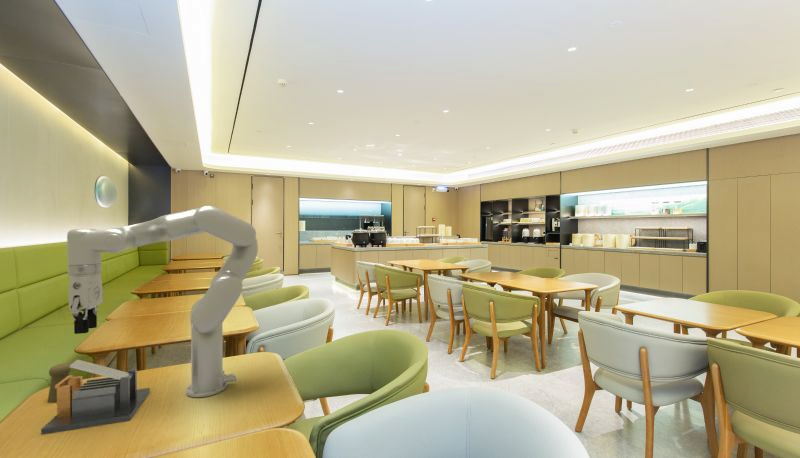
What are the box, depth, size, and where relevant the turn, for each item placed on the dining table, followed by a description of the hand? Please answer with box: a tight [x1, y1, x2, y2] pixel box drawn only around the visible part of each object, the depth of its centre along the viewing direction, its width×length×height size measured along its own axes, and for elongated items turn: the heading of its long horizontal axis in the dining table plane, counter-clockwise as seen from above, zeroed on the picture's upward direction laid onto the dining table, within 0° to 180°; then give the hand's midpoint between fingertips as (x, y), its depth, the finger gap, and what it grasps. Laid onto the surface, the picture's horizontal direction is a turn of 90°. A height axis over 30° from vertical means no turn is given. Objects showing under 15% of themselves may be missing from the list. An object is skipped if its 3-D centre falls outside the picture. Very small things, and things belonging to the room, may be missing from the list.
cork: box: [47, 362, 72, 404], centre depth 115 cm, size 6×6×11 cm
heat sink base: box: [40, 368, 151, 436], centre depth 107 cm, size 20×18×11 cm
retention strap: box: [69, 359, 133, 380], centre depth 107 cm, size 16×4×1 cm, turn 111°
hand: (85, 329), depth 106 cm, fingers open, 4 cm apart
